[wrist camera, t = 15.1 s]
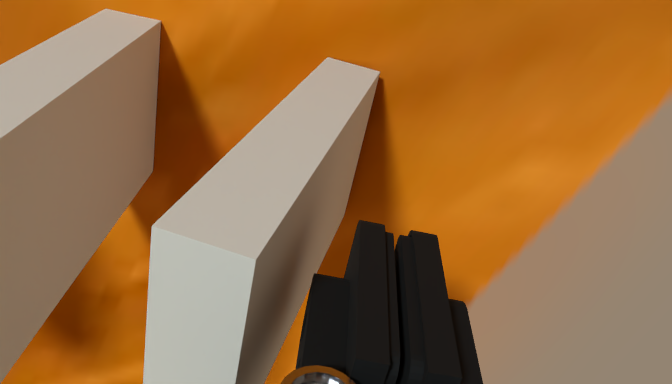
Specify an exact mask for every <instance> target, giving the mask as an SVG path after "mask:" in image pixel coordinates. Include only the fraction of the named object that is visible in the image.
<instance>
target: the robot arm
mask: <svg viewBox="0 0 672 384" xmlns="http://www.w3.org/2000/svg"><path fill="white" fill-rule="evenodd" d="M281 384H483V381H482V377H481V372H480V367H479V363H478V358H477V353H476V349H475V344H474V339H473V335H472V330H471V325H470V321H469V316H468V311H467V307H466V305H465V303H464V302H463V301H458V300H453V299H448V294H447V288H446V283H445V277H444V271H443V266H442V260H441V254H440V249H439V243H438V238H437V235H433V234H428V233H423V232H418V231H413V230H411V231H410V232H409V234H408V236H404V235H400V236H399V238H398V241H397V244H396V247H395V251H394V236H393V233H388V232H385V225H382V224H377V223H372V222H367V221H362V220H359V222H358V225H357V229H356V232H355V236H354V240H353V244H352V248H351V252H350V256H349V260H348V264H347V268H346V272H345V276H344V279H342V278H337V277H332V276H327V275H321V274H316V273H314V275H313V278H312V283H311V287H310V292H309V296H308V301H307V306H306V310H305V316H304V321H303V326H302V332H301V338H300V344H299V351H298V357H297V364H296V370H294V371H292V372H291V373H290V374H288V375H287V376H286V377H285V378H284V379H283V381H282V383H281Z"/></svg>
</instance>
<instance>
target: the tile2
mask: <svg viewBox="0 0 672 384" xmlns="http://www.w3.org/2000/svg"><path fill="white" fill-rule="evenodd" d="M160 32H161V21H160V20H155V19H151V18H146V17H142V16H137V15H132V14H128V13H123V12H119V11H114V10H109V9H104V10H102V11H100V12H98V13H97V14H95V15H93V16H91V17H89V18H87V19H85V20H84V21H82V22H80V23H78V24H76V25H74V26H72V27H70V28H69V29H67V30H65V31H63V32H61V33H59V34H57V35H56V36H54V37H52V38H50V39H48V40H46V41H44V42H42V43H41V44H39V45H37V46H35V47H33V48H31V49H29V50H27V51H26V52H24V53H22V54H20V55H18V56H16V57H14V58H13V59H11V60H9V61H7V62H5V63H3V64H1V65H0V383H1V382H2V380H3V379H4V378H5V376H6V375H7V373H8V372H9V371H10V369H11V368H12V366H13V365H14V364H15V362H16V361H17V359H18V358H19V357H20V355H21V354H22V353H23V351H24V350H25V348H26V347H27V346H28V344H29V343H30V341H31V340H32V339H33V337H34V336H35V334H36V333H37V332H38V330H39V329H40V328H41V326H42V325H43V323H44V322H45V321H46V319H47V318H48V316H49V315H50V314H51V312H52V311H53V309H54V308H55V307H56V305H57V304H58V303H59V301H60V300H61V298H62V297H63V296H64V294H65V293H66V291H67V290H68V289H69V287H70V286H71V284H72V283H73V282H74V280H75V279H76V278H77V276H78V275H79V273H80V272H81V271H82V269H83V268H84V266H85V265H86V264H87V262H88V261H89V259H90V258H91V257H92V255H93V254H94V253H95V251H96V250H97V248H98V247H99V246H100V244H101V243H102V241H103V240H104V239H105V237H106V236H107V234H108V233H109V232H110V230H111V229H112V228H113V226H114V225H115V223H116V222H117V221H118V219H119V218H120V216H121V215H122V214H123V212H124V211H125V209H126V208H127V207H128V205H129V204H130V203H131V201H132V200H133V198H134V197H135V196H136V194H137V193H138V191H139V190H140V189H141V187H142V186H143V184H144V183H145V182H146V180H147V179H148V178H149V176H150V175H151V173H152V172H153V164H154V145H155V126H156V107H157V89H158V70H159V51H160Z"/></svg>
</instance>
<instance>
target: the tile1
mask: <svg viewBox="0 0 672 384" xmlns="http://www.w3.org/2000/svg"><path fill="white" fill-rule="evenodd" d="M379 75H380V72H379V71H376V70H372V69H369V68H365V67H361V66H358V65H354V64H351V63H347V62H343V61H340V60H336V59H333V58H329V57H327V58H326V59H325V60H324V61H323V62H322V63H321V64H320V65H319V66H318V67H317V68H316V69H315V70H314V71H313V72H312V73H311V74H310V75H309V76H308V77H306V78H305V79H304V80H303V81H302V82H301V83H300V84H299V85H298V86H297V87H296V88H295V89H294V90H293V91H292V92H291V93H290V94H289V95H288V96H287V97H286V98H285V99H284V100H282V101H281V102H280V103H279V104H278V105H277V106H276V107H275V108H274V109H273V110H272V111H271V112H270V113H269V114H268V115H267V116H266V117H265V118H264V119H263V120H262V121H261V122H260V123H258V124H257V125H256V126H255V127H254V128H253V129H252V130H251V131H250V132H249V133H248V134H247V135H246V136H245V137H244V138H243V139H242V140H241V141H240V142H239V143H238V144H237V145H236V146H234V147H233V148H232V149H231V150H230V151H229V152H228V153H227V154H226V155H225V156H224V157H223V158H222V159H221V160H220V161H219V162H218V163H217V164H216V165H215V166H214V167H213V168H212V169H210V170H209V171H208V172H207V173H206V174H205V175H204V176H203V177H202V178H201V179H200V180H199V181H198V182H197V183H196V184H195V185H194V186H193V187H192V188H191V189H190V190H189V191H188V192H186V193H185V194H184V195H183V196H182V197H181V198H180V199H179V200H178V201H177V202H176V203H175V204H174V205H173V206H172V207H171V208H170V209H169V210H168V211H167V212H166V213H165V214H164V215H162V216H161V217H160V218H159V219H158V220H157V221H156V222H155V223H154V224H153V225H152V230H151V248H150V267H149V285H148V303H147V322H146V340H145V358H144V377H143V384H264V382H265V380H266V378H267V376H268V374H269V372H270V370H271V368H272V366H273V364H274V362H275V359H276V357H277V355H278V353H279V351H280V349H281V347H282V345H283V343H284V341H285V338H286V336H287V334H288V332H289V330H290V328H291V326H292V324H293V322H294V320H295V317H296V315H297V313H298V311H299V309H300V307H301V305H302V303H303V301H304V299H305V297H306V294H307V292H308V290H309V288H310V286H311V283H312V278H313V275H314V273H317V271H318V269H319V267H320V265H321V263H322V261H323V259H324V257H325V255H326V252H327V250H328V248H329V246H330V244H331V242H332V240H333V238H334V236H335V234H336V232H337V229H338V227H339V225H340V223H341V221H342V219H343V217H344V214H345V210H346V206H347V202H348V198H349V194H350V190H351V186H352V182H353V178H354V174H355V170H356V166H357V163H358V159H359V155H360V151H361V147H362V143H363V139H364V135H365V131H366V127H367V123H368V119H369V115H370V111H371V107H372V103H373V99H374V95H375V91H376V87H377V83H378V79H379Z"/></svg>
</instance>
